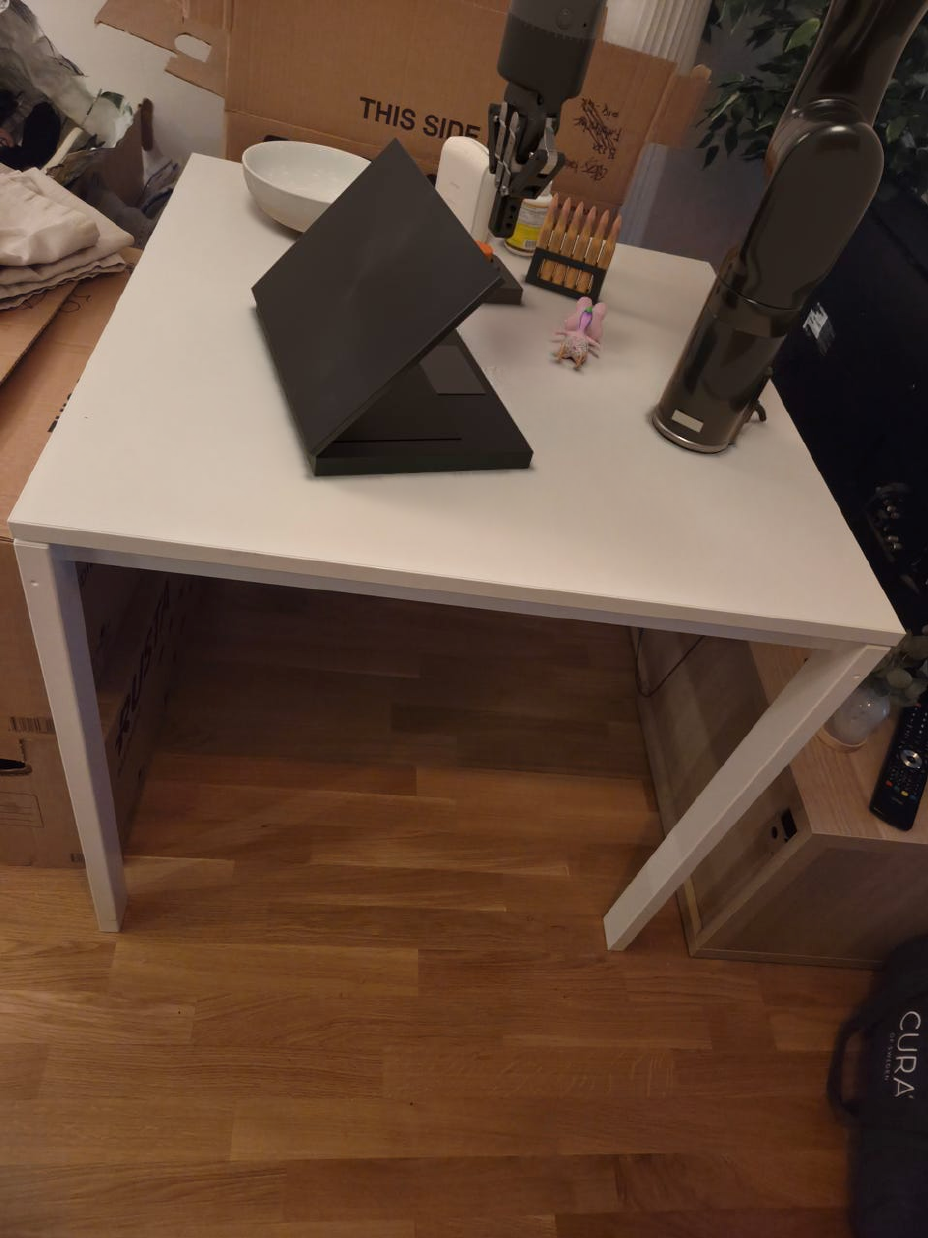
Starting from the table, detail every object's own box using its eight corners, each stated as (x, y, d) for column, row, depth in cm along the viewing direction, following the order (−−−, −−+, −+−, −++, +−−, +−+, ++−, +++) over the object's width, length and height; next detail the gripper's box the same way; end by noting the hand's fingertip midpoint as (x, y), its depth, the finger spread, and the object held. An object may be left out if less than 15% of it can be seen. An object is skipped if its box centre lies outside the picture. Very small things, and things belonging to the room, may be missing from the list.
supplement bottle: (511, 237, 121) (530, 166, 114) (543, 251, 120) (564, 180, 113) (496, 247, 117) (514, 173, 110) (529, 261, 116) (549, 188, 109)
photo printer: (424, 218, 118) (441, 127, 110) (446, 216, 121) (464, 127, 112) (467, 249, 114) (487, 157, 105) (489, 247, 116) (510, 156, 108)
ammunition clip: (524, 282, 111) (549, 192, 102) (526, 277, 112) (551, 188, 103) (595, 306, 110) (627, 218, 102) (597, 301, 112) (628, 214, 103)
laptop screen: (400, 143, 81) (395, 136, 80) (507, 283, 63) (501, 275, 63) (256, 293, 88) (250, 288, 87) (316, 458, 70) (309, 453, 69)
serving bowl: (390, 271, 103) (399, 218, 98) (227, 237, 100) (228, 179, 95) (397, 212, 118) (405, 162, 113) (255, 180, 114) (256, 127, 109)
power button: (484, 254, 105) (487, 241, 104) (494, 267, 103) (497, 253, 102) (459, 252, 104) (462, 239, 102) (469, 265, 101) (472, 251, 100)
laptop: (436, 318, 97) (439, 301, 96) (528, 468, 80) (534, 451, 78) (256, 310, 89) (256, 292, 87) (314, 476, 71) (316, 457, 70)
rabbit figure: (587, 384, 97) (613, 320, 106) (602, 343, 92) (628, 280, 101) (540, 367, 98) (569, 304, 106) (553, 325, 93) (582, 263, 101)
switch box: (495, 273, 111) (502, 244, 108) (519, 304, 105) (527, 275, 102) (422, 268, 106) (427, 238, 103) (443, 301, 101) (449, 270, 98)
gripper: (629, 51, 61) (560, 269, 74) (561, 5, 69) (509, 209, 81) (545, 33, 58) (488, 263, 71) (484, -13, 66) (442, 201, 79)
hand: (499, 234), depth 76 cm, fingers closed
